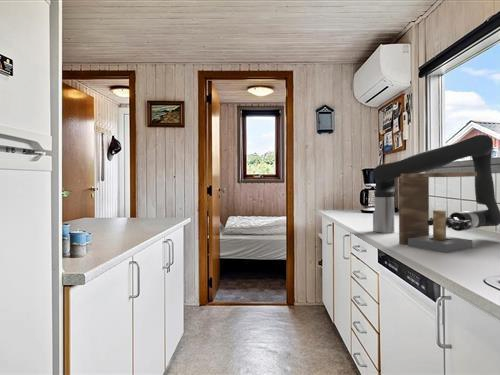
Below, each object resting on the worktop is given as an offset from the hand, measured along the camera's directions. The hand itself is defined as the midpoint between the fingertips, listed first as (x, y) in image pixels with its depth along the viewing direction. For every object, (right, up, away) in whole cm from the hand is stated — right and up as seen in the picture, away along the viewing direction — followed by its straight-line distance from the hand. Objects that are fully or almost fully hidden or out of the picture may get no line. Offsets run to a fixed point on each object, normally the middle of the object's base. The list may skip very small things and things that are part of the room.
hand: (438, 223), depth 145 cm
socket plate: (+1, -9, +1) cm, 9 cm away
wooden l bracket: (+1, -9, +3) cm, 9 cm away
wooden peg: (+1, -9, +1) cm, 9 cm away
